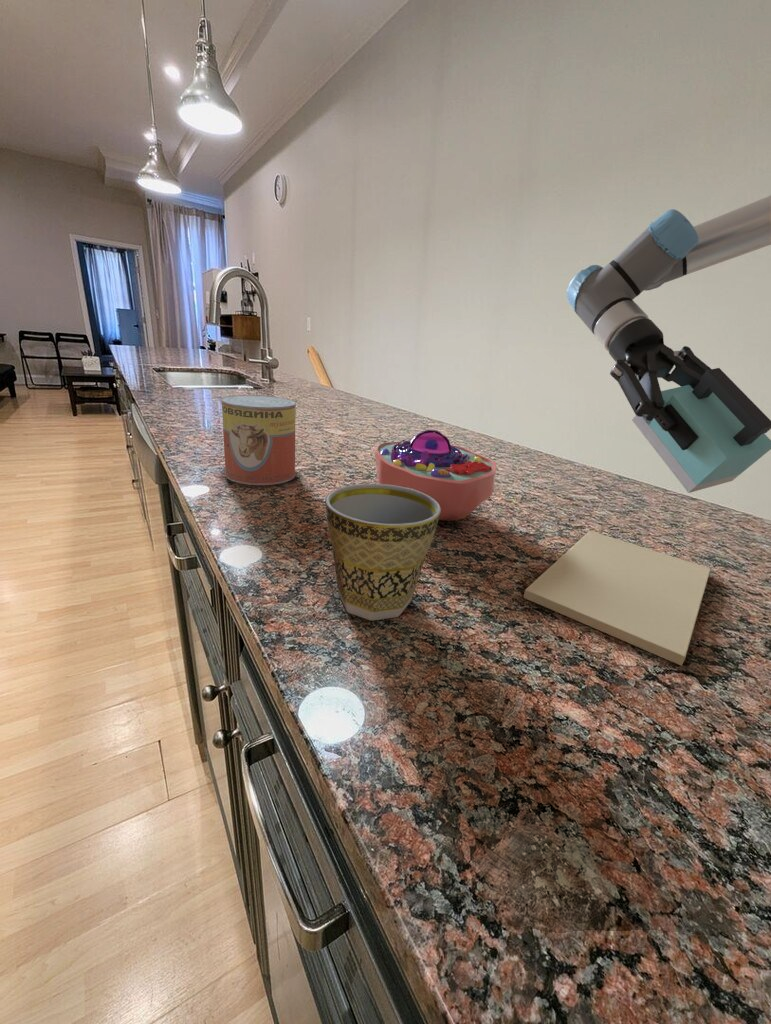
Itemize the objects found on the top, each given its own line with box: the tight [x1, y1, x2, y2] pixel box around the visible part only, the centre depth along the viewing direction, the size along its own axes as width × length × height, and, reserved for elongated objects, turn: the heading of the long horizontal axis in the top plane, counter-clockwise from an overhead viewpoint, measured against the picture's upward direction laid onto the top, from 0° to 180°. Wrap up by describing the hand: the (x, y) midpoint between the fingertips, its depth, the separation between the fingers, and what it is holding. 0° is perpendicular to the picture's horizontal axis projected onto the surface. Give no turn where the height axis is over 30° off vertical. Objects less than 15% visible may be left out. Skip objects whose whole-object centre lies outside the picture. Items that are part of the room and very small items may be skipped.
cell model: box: [373, 429, 497, 522], centre depth 62 cm, size 17×20×11 cm
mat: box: [523, 530, 711, 666], centre depth 49 cm, size 22×14×1 cm, turn 141°
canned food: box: [220, 394, 297, 486], centre depth 72 cm, size 11×11×12 cm
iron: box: [631, 367, 771, 494], centre depth 66 cm, size 16×8×12 cm
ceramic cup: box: [324, 483, 441, 622], centre depth 42 cm, size 13×10×10 cm
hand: (715, 437), depth 64 cm, fingers closed on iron, 8 cm apart
